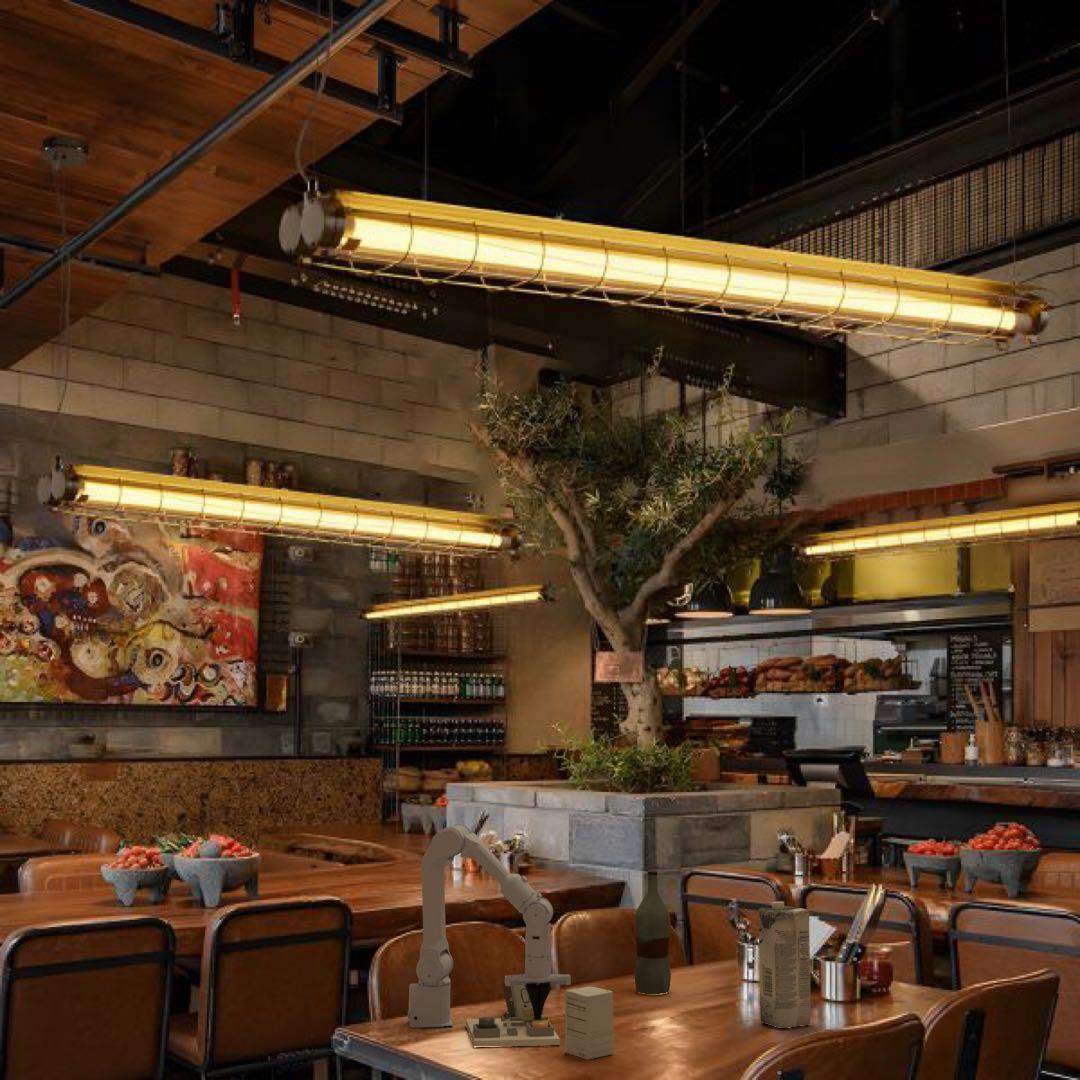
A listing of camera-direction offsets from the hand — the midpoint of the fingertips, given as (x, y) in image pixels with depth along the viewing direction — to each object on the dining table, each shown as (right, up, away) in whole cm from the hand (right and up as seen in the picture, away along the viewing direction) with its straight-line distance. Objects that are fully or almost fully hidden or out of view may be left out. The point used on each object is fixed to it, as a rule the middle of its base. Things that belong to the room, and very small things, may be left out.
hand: (537, 1018), depth 298 cm
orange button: (+1, +1, -10) cm, 10 cm away
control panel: (-6, -2, -6) cm, 8 cm away
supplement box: (+11, 0, -21) cm, 23 cm away
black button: (-11, +2, -11) cm, 16 cm away
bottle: (+29, -8, +41) cm, 51 cm away
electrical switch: (-3, -4, +14) cm, 15 cm away
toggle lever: (-6, +1, -11) cm, 12 cm away
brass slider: (-2, -1, 0) cm, 2 cm away
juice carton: (+56, -4, +7) cm, 57 cm away
